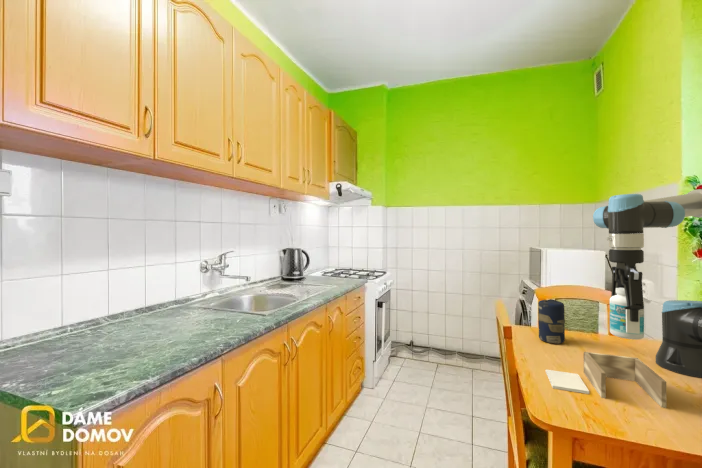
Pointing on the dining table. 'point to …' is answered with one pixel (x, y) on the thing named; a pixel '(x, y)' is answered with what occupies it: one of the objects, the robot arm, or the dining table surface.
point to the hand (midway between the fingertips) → (626, 328)
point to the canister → (551, 321)
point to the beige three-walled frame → (623, 374)
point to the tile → (566, 381)
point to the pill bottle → (622, 317)
